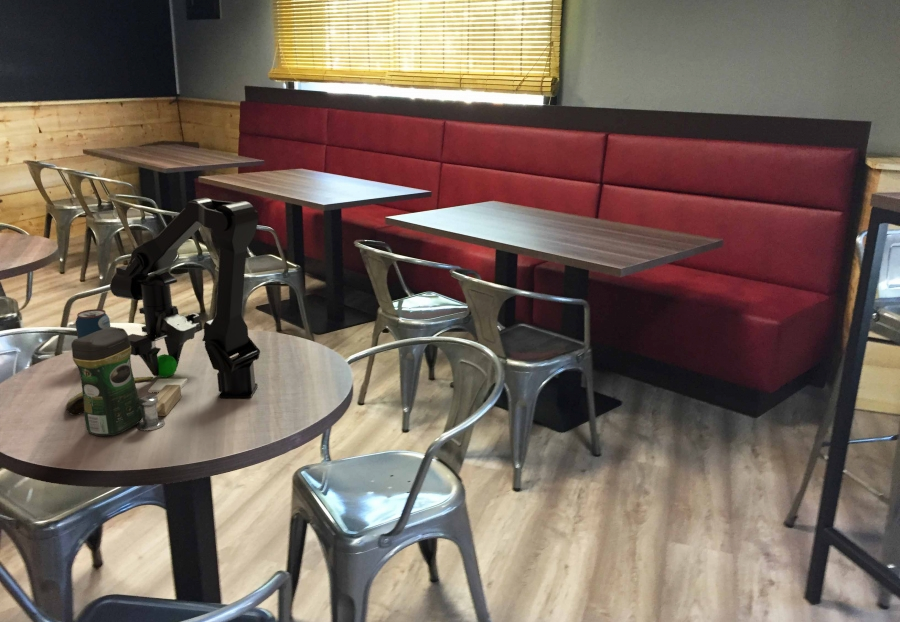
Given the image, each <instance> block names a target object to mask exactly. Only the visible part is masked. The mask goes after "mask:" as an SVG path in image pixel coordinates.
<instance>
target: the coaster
mask: <svg viewBox="0 0 900 622" xmlns="http://www.w3.org/2000/svg"><path fill="white" fill-rule="evenodd" d="M187 382H188V378H158V379H157V380H156V381H155V382H154V383H153V384H152V386H150V388H149V389H148V391H147V392H148V393H149V394H150V393H151V394H153V393H154V392H157V393H156V394H158V392H160V391H161V390H162V389H163V388H164V386H165V385H180V388H181V389H182V388H183V387H184V386H185V385H186V384H187ZM152 392H153V393H152ZM154 394H155V393H154Z"/></svg>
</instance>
